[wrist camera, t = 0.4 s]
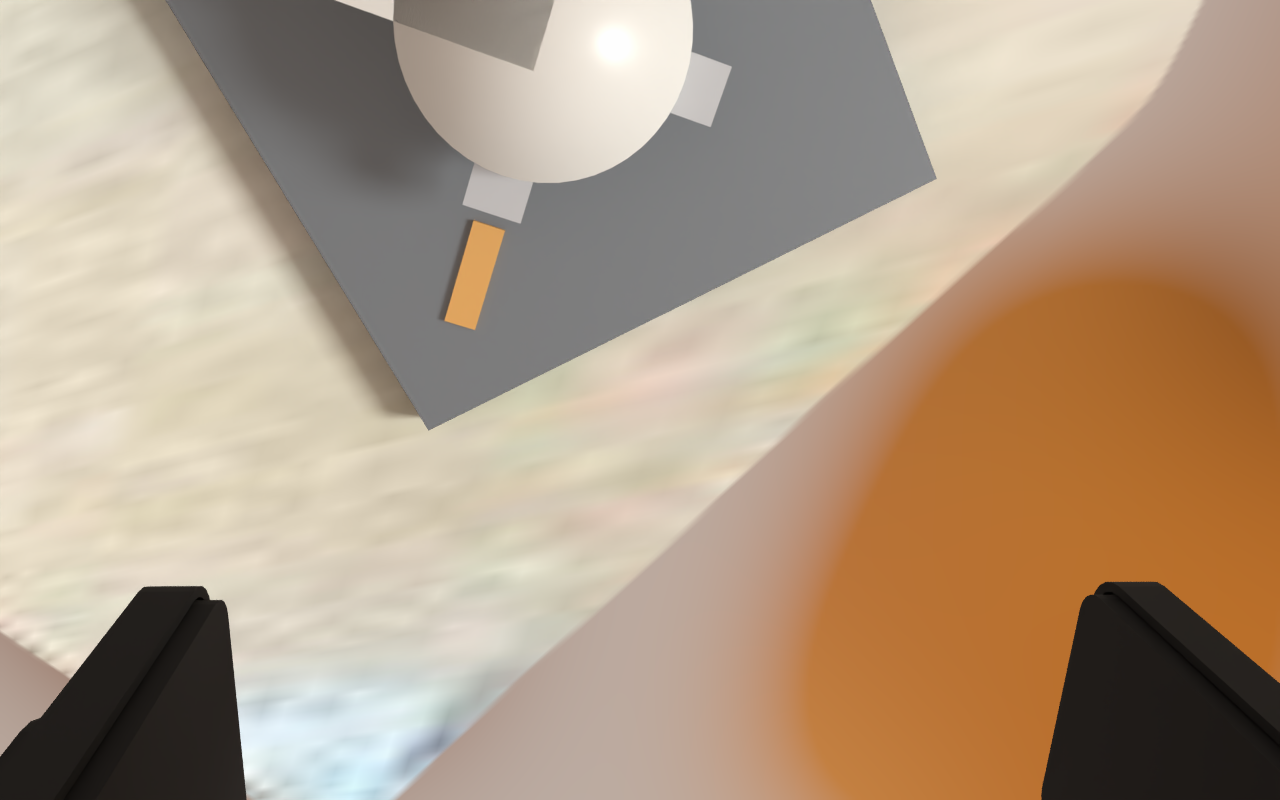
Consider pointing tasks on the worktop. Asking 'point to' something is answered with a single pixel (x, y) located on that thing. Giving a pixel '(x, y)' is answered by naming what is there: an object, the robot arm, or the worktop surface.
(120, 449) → the worktop surface
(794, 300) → the worktop surface
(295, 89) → the post base
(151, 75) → the worktop surface
